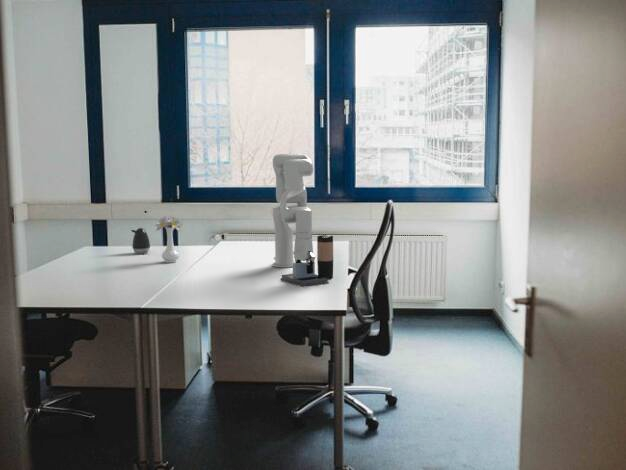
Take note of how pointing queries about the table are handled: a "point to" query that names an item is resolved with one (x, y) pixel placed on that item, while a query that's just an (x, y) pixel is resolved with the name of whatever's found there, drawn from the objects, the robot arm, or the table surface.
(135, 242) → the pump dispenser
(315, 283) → the rack
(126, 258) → the table surface
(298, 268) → the panel
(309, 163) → the robot arm
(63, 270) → the table surface
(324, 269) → the travel mug
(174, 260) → the flower vase
